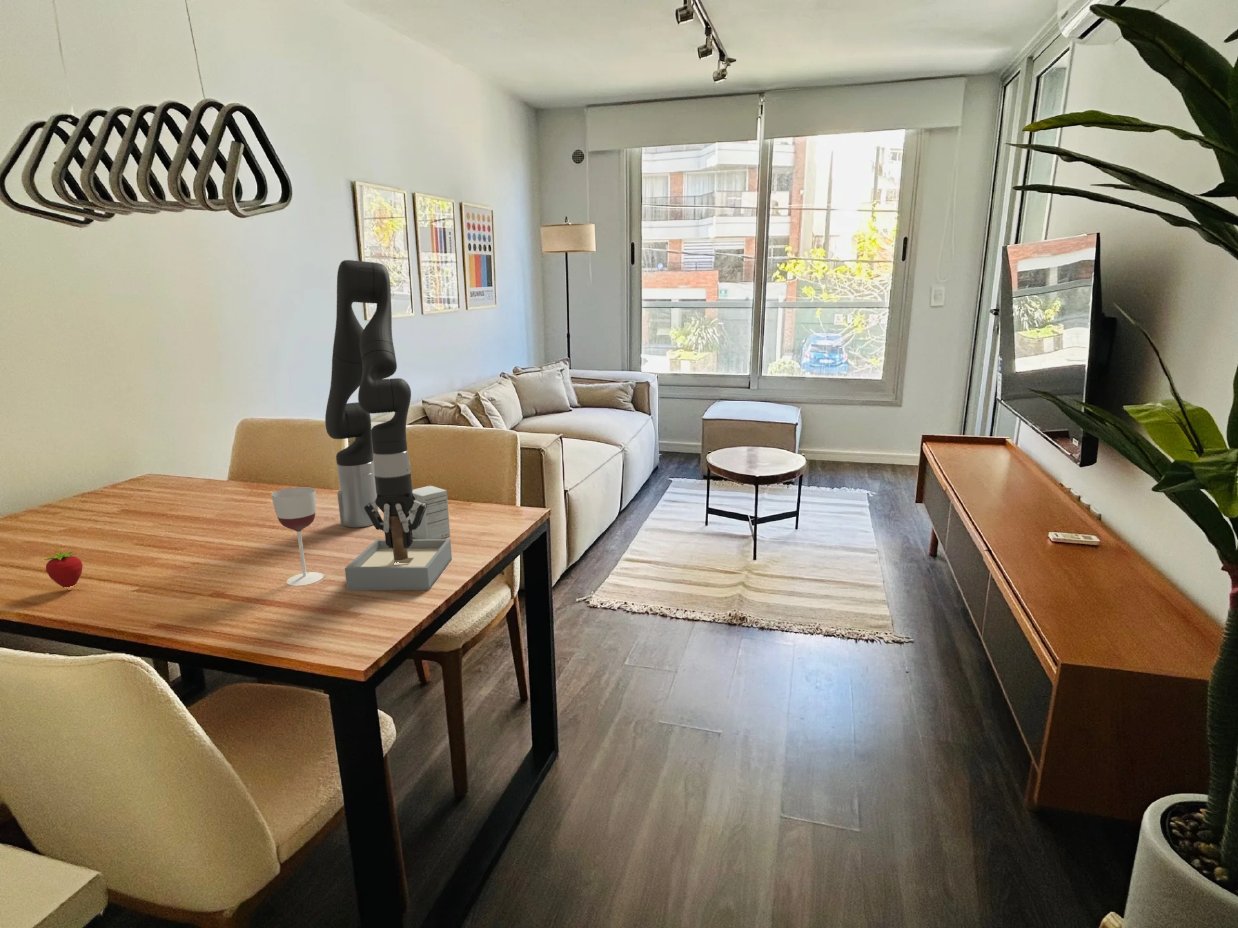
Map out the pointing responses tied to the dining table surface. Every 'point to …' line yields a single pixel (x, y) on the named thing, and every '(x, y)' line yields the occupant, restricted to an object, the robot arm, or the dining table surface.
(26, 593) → the dining table surface
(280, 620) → the dining table surface
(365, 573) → the peg box
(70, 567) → the strawberry
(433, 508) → the supplement box
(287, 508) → the wineglass
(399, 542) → the peg
